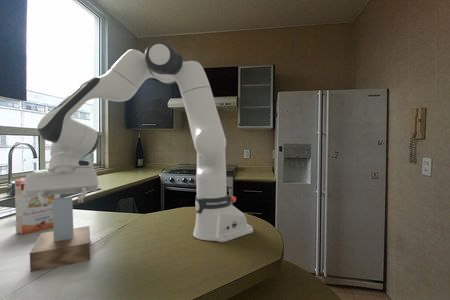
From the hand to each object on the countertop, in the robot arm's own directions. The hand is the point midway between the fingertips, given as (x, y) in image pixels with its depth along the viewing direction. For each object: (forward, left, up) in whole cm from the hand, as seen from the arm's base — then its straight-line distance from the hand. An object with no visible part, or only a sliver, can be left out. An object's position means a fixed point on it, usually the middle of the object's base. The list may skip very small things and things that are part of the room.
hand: (62, 203), depth 78 cm
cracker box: (+11, -34, -16) cm, 39 cm away
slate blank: (0, 0, -11) cm, 11 cm away
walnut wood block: (0, 0, -16) cm, 16 cm away
